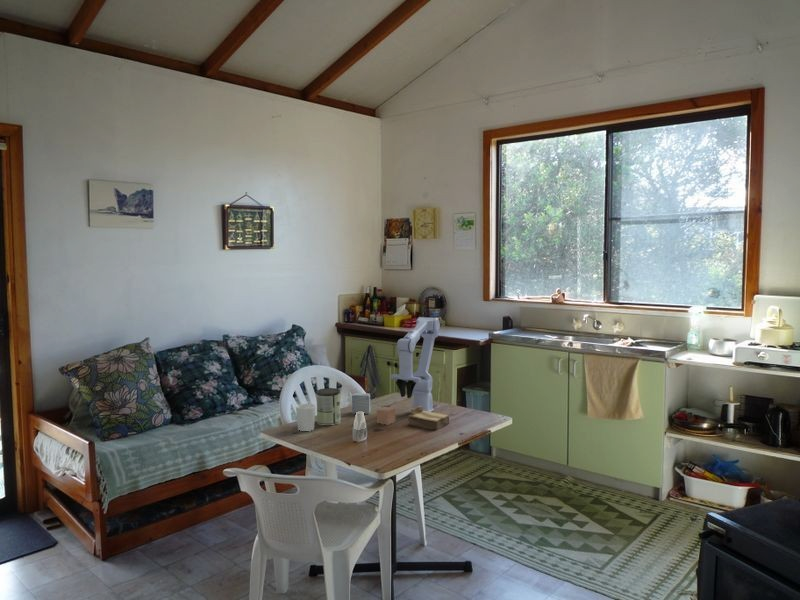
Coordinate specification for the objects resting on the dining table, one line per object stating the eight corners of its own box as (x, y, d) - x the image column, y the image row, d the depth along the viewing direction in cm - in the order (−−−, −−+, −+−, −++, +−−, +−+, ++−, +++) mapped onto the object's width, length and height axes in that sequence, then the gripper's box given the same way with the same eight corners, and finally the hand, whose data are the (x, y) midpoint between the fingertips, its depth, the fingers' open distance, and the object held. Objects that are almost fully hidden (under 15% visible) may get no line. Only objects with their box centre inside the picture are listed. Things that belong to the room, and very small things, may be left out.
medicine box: (370, 411, 285) (370, 393, 284) (369, 414, 280) (368, 395, 279) (353, 411, 285) (353, 393, 285) (352, 414, 281) (351, 395, 280)
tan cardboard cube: (384, 420, 270) (384, 406, 270) (395, 422, 267) (395, 408, 267) (377, 423, 266) (376, 409, 265) (387, 425, 263) (387, 411, 262)
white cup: (319, 429, 258) (318, 405, 257) (304, 433, 252) (303, 409, 251) (307, 425, 263) (307, 402, 262) (292, 429, 258) (292, 406, 257)
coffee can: (318, 419, 273) (317, 388, 271) (341, 419, 273) (340, 387, 272) (315, 426, 262) (314, 393, 261) (340, 425, 263) (339, 393, 262)
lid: (421, 411, 271) (421, 404, 270) (449, 416, 263) (448, 409, 262) (408, 416, 262) (408, 409, 262) (436, 421, 254) (436, 414, 254)
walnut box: (421, 419, 271) (421, 412, 271) (449, 424, 263) (449, 416, 263) (408, 424, 263) (408, 417, 263) (436, 430, 255) (436, 422, 254)
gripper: (387, 365, 268) (387, 396, 269) (414, 369, 260) (414, 401, 261) (396, 363, 274) (396, 393, 275) (423, 366, 266) (424, 397, 267)
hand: (406, 397), depth 268 cm, fingers open, 3 cm apart
